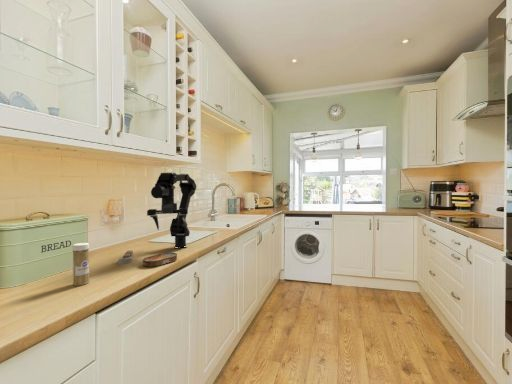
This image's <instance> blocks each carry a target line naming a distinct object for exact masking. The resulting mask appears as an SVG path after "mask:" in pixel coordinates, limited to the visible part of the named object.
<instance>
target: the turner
mask: <svg viewBox="0 0 512 384" xmlns="http://www.w3.org/2000/svg"><path fill="white" fill-rule="evenodd" d="M132 255H133V250H126V252H124V253H123V256H122V257H119V258H118V260H117V261H116V264H117V265H119V264H129V263H131V261H132V260H133V256H132Z"/></svg>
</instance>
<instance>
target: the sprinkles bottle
mask: <svg viewBox="0 0 512 384" xmlns="http://www.w3.org/2000/svg"><path fill="white" fill-rule="evenodd" d="M89 249H90V244H89V243H88V242H80V243H79V242H78V243H74V244H72V275H73V277H72V279H73V282H72V285H73V286H75V287H79V286H84V285H87V284H88V283H90V280H89V279H90V275H89V274H90V263H89V261H90V260H89V259H90V258H89Z"/></svg>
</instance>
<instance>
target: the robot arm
mask: <svg viewBox="0 0 512 384" xmlns="http://www.w3.org/2000/svg"><path fill="white" fill-rule="evenodd" d="M177 182H179V183H178V184H179V185H178V186H179V188H180V192H181V199H180V203H179V207H178V203H176V202H175V189H176V186H175V185H174V184H177ZM196 191H197V184H196V182H195V180H194V179H193V178H192V177H191V176H190V175H189V174H188V173H179V174H178V173H176V172H161V173H160V174H159V176H158V179H157V180H156V183H155V184H154V186H153V187H152V189H151V191H150V195H151V196H152V197H153V198H154V199H161V209H160V210H159V209H158V210H157V208H149V209H147V211H146V216H149V217H150V218H152V219H153V221H154V223H155V225H156V229H157V230H158V231H159V230H160V229H159V228H160V225H159V218H158V215H165V214H166V215H167V214H170V215H171V214H176V215H177V216H175V218H172V219H171V224H170V227H169V231H170V236H171V237H174V245H175V247H184V246H186V245H187V239H186V238H187V237H190V231H191V230H189V227H188V223H187V219H186V218H187V216H188V214H189V213H188V211H189V210H188V209H189V207H190V201H191V198H192V197H193V196H194V195H195V193H196Z"/></svg>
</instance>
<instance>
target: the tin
mask: <svg viewBox="0 0 512 384" xmlns="http://www.w3.org/2000/svg"><path fill="white" fill-rule="evenodd" d="M175 260H176V261H177V260H178V253H176V252H163V253H158V254H155V255H150V256H146V257H144V258H142V265H143V266H144V267H147V268H154V267H155V266H156V267H159V265H160V266H164V265H167V264H170V263H169V262H171V263H173V261H174V262H176V261H175ZM166 263H167V264H166ZM163 264H164V265H163Z"/></svg>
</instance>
